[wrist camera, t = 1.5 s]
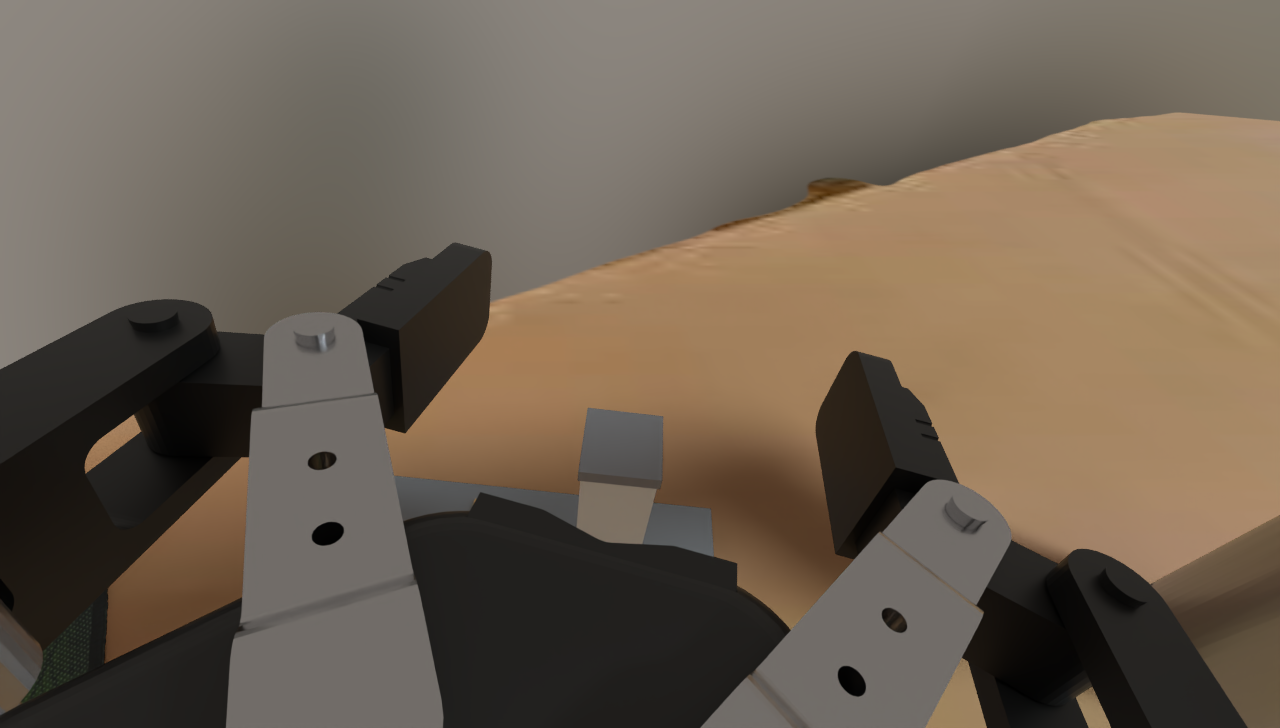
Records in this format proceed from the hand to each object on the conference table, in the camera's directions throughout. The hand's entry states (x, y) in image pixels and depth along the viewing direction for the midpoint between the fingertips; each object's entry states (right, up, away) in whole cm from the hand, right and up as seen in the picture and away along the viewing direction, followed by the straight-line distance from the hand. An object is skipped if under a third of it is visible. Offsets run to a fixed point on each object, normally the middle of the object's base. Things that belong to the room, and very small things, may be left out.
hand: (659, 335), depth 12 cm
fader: (-3, -13, +19) cm, 23 cm away
